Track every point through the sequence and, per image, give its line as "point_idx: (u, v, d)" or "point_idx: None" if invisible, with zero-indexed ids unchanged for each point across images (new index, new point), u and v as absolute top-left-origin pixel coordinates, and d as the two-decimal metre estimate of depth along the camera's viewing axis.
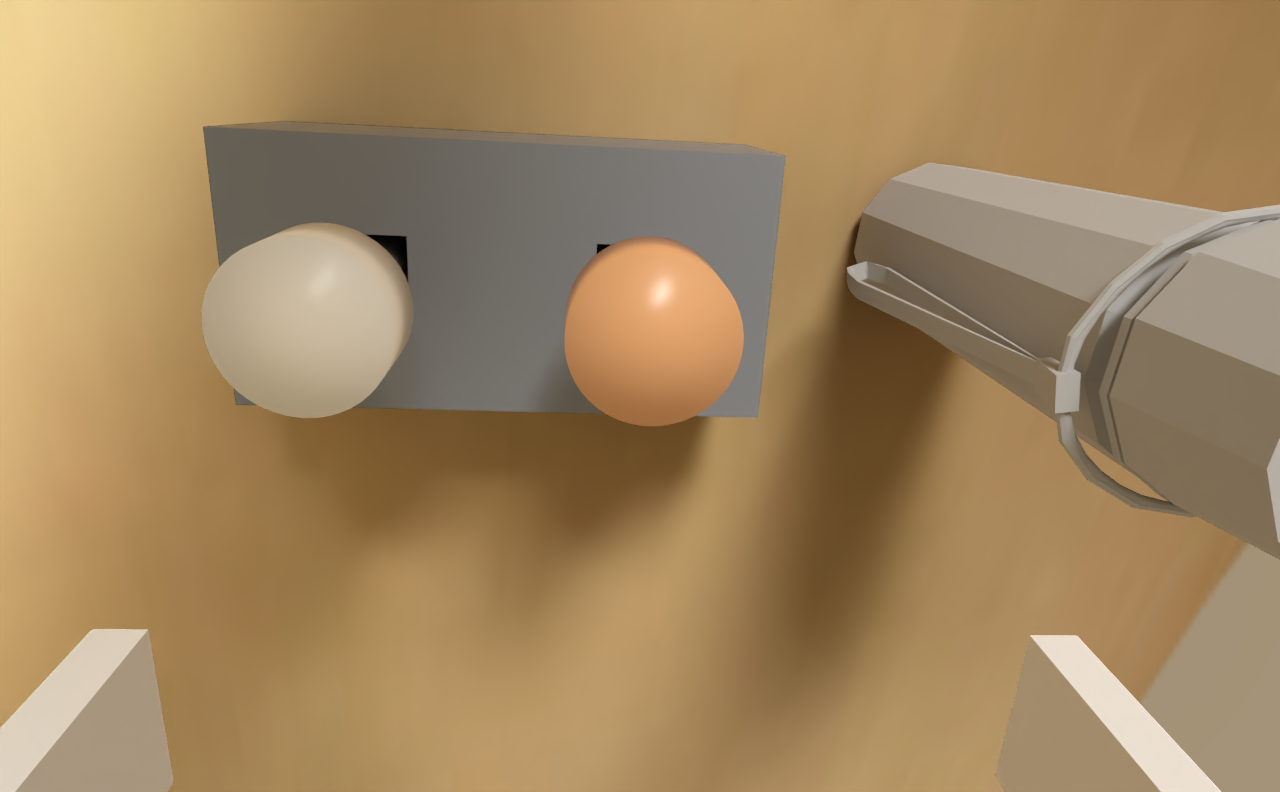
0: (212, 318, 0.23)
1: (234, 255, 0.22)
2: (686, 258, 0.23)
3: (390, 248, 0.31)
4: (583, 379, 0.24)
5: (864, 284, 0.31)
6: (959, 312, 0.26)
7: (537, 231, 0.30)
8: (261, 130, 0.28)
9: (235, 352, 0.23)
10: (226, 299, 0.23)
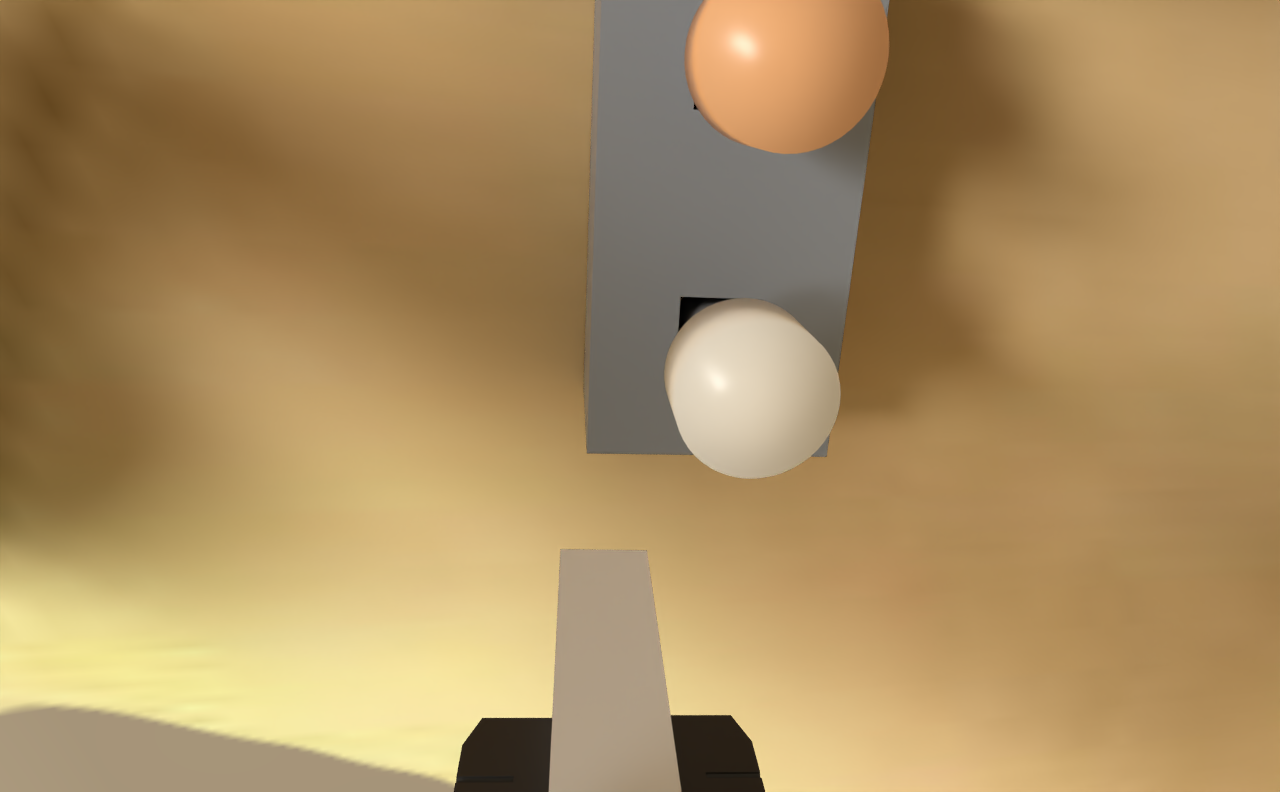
0: (742, 469, 0.26)
1: (688, 446, 0.26)
2: (706, 17, 0.22)
3: (692, 311, 0.33)
4: (827, 134, 0.23)
5: None
6: None
7: (679, 171, 0.30)
8: (588, 409, 0.33)
9: (773, 454, 0.26)
10: (726, 457, 0.26)
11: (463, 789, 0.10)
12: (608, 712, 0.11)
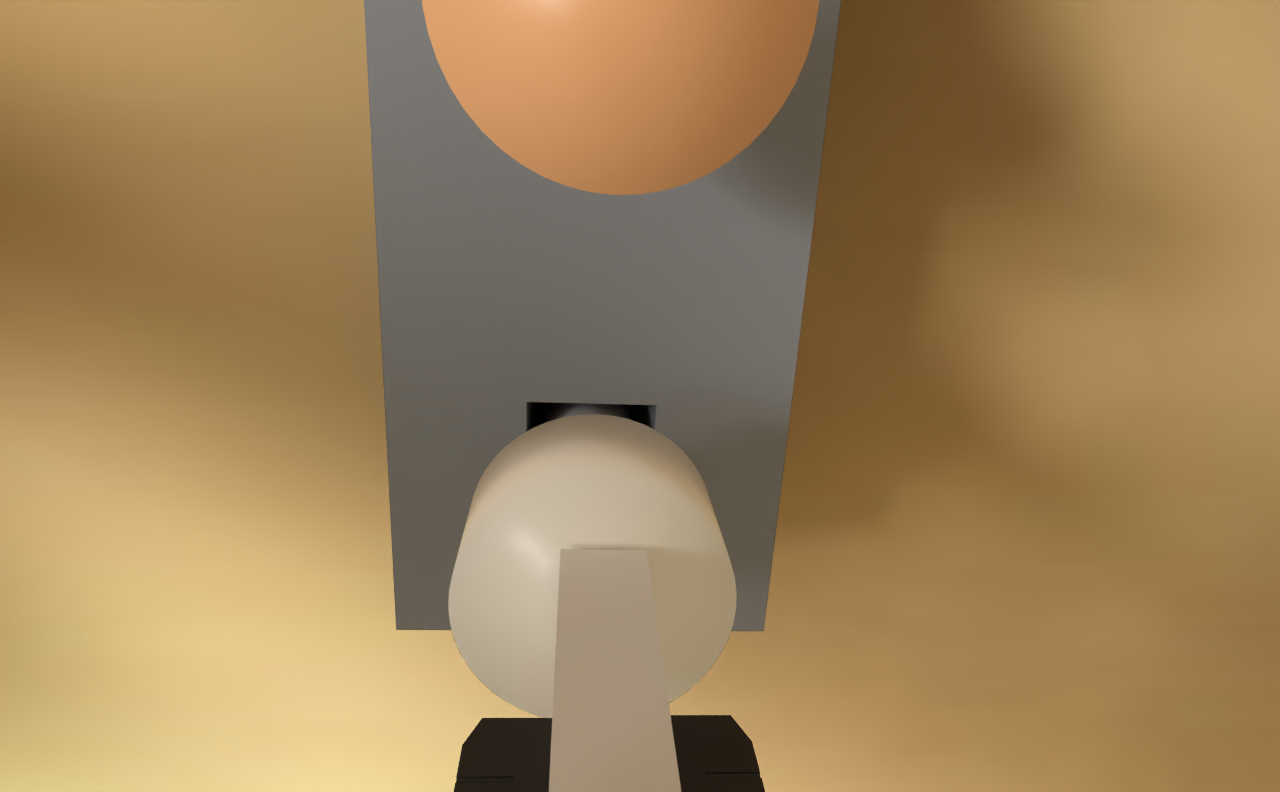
0: None
1: (479, 677, 0.15)
2: None
3: (555, 404, 0.23)
4: (700, 156, 0.12)
5: None
6: None
7: (512, 207, 0.19)
8: (394, 567, 0.22)
9: None
10: (545, 692, 0.16)
11: (463, 789, 0.10)
12: (608, 712, 0.11)
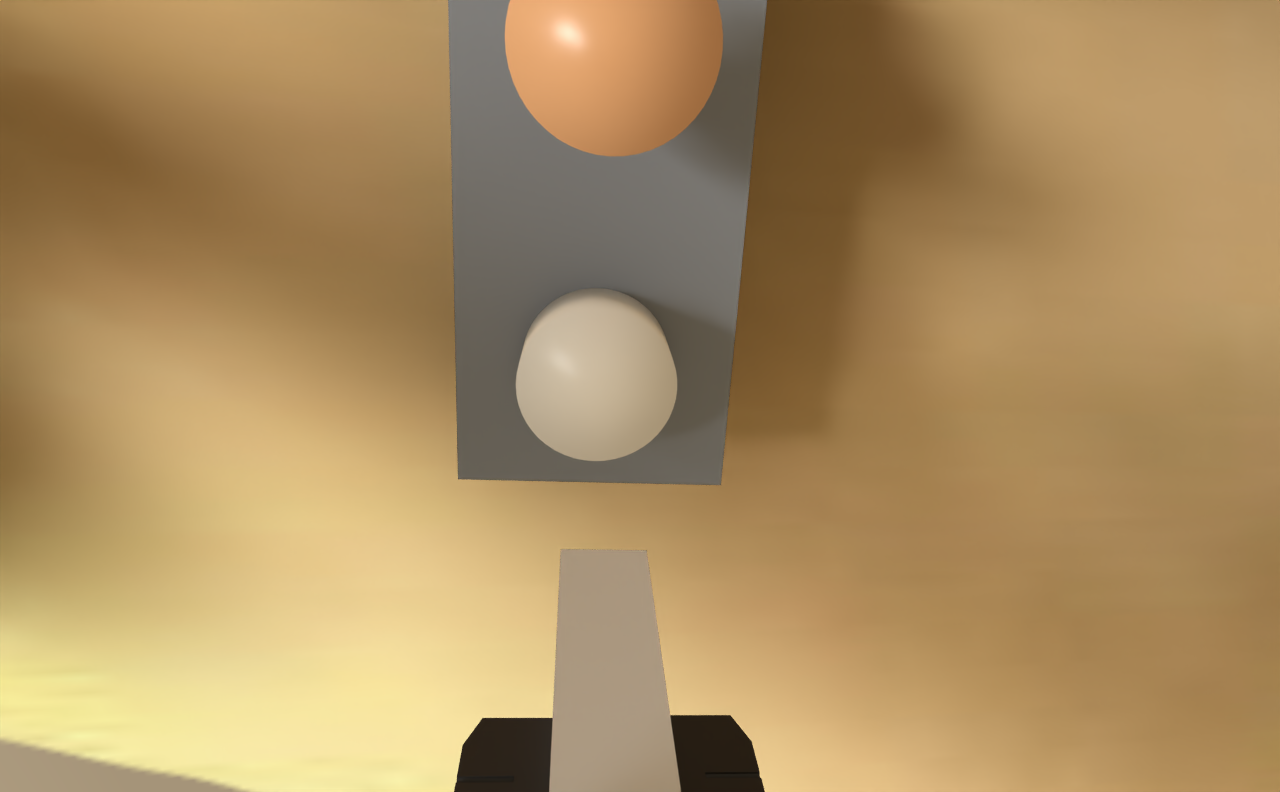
0: (585, 452, 0.27)
1: (531, 428, 0.27)
2: (510, 1, 0.19)
3: None
4: (658, 134, 0.20)
5: None
6: None
7: (543, 175, 0.28)
8: (457, 432, 0.31)
9: (615, 438, 0.27)
10: (569, 439, 0.27)
11: (464, 789, 0.10)
12: (608, 712, 0.11)
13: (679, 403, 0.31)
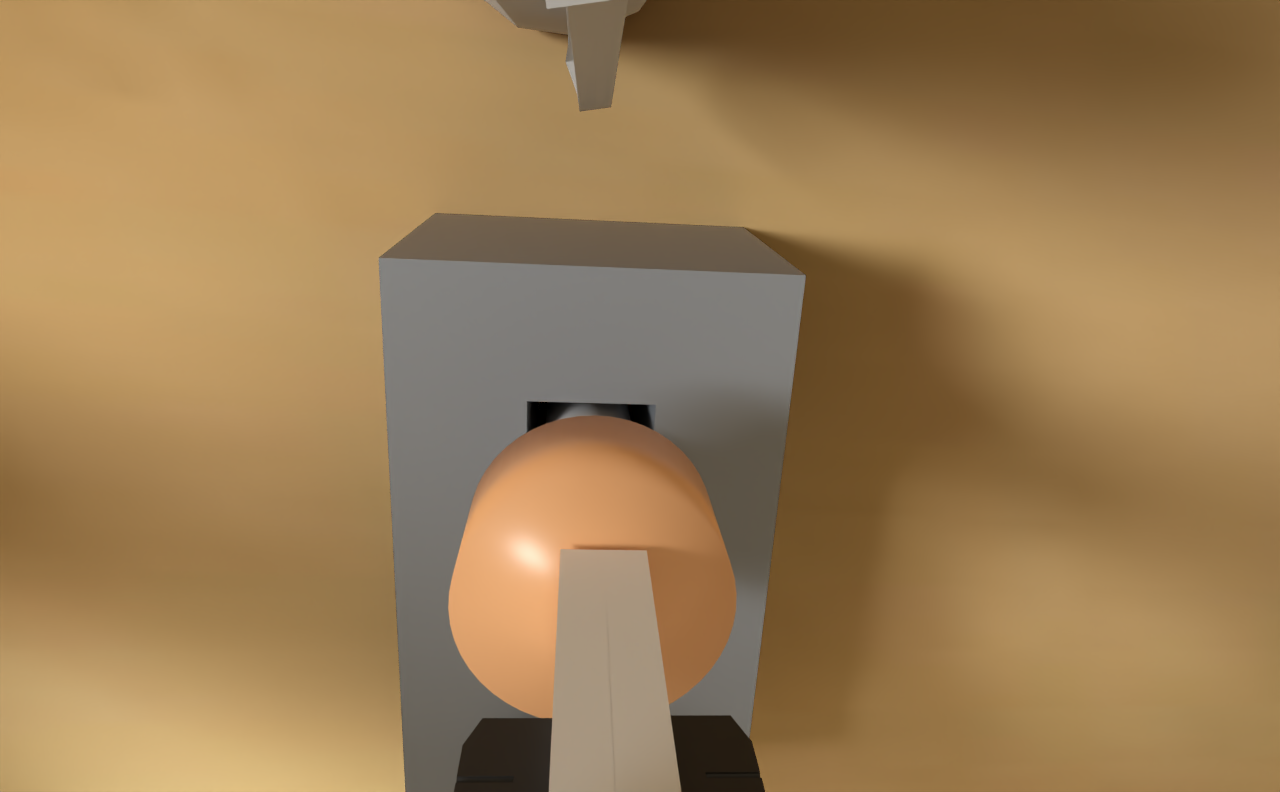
0: None
1: None
2: (455, 569, 0.15)
3: None
4: None
5: (579, 106, 0.18)
6: (566, 14, 0.13)
7: None
8: None
9: None
10: None
11: (463, 789, 0.10)
12: (608, 712, 0.11)
13: None
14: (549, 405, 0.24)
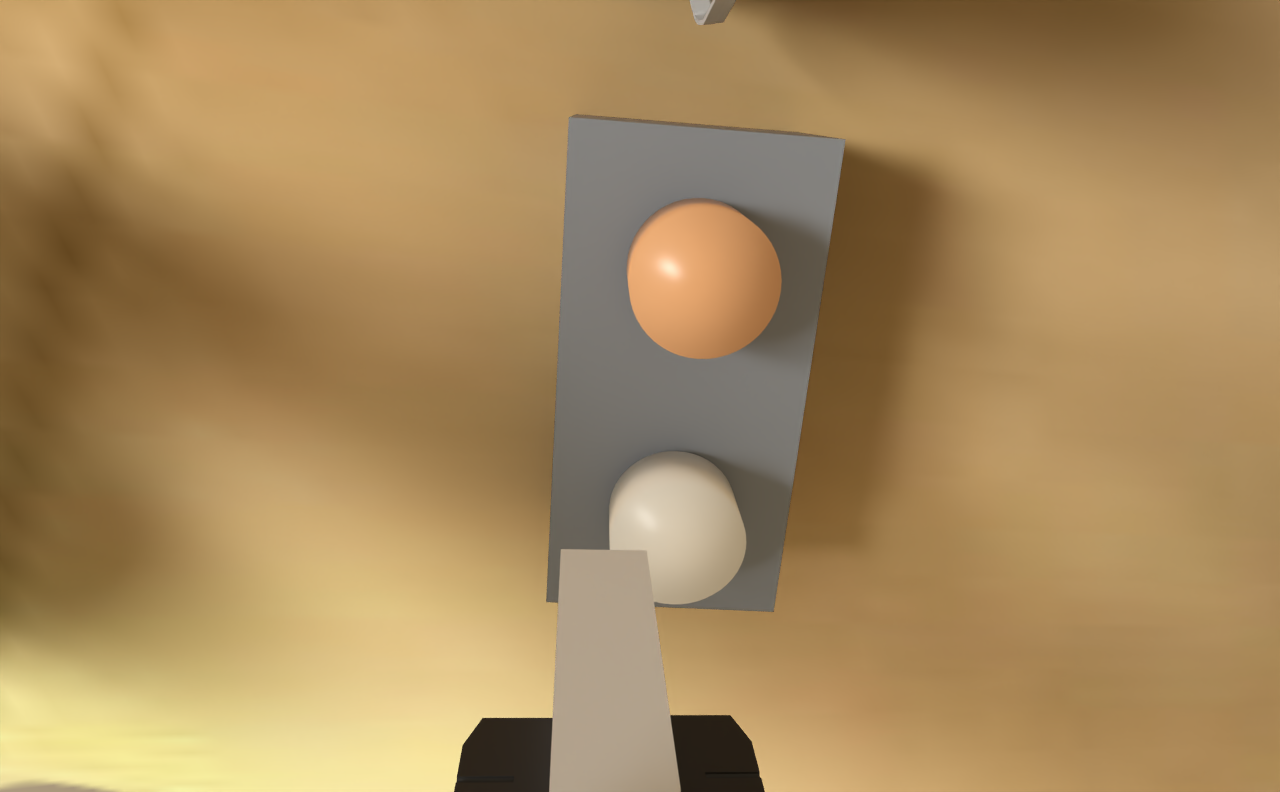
0: (665, 597, 0.32)
1: None
2: (634, 258, 0.28)
3: None
4: (732, 345, 0.29)
5: (705, 20, 0.28)
6: None
7: (635, 358, 0.32)
8: (548, 563, 0.35)
9: (691, 586, 0.32)
10: None
11: (464, 789, 0.10)
12: (608, 712, 0.11)
13: None
14: None
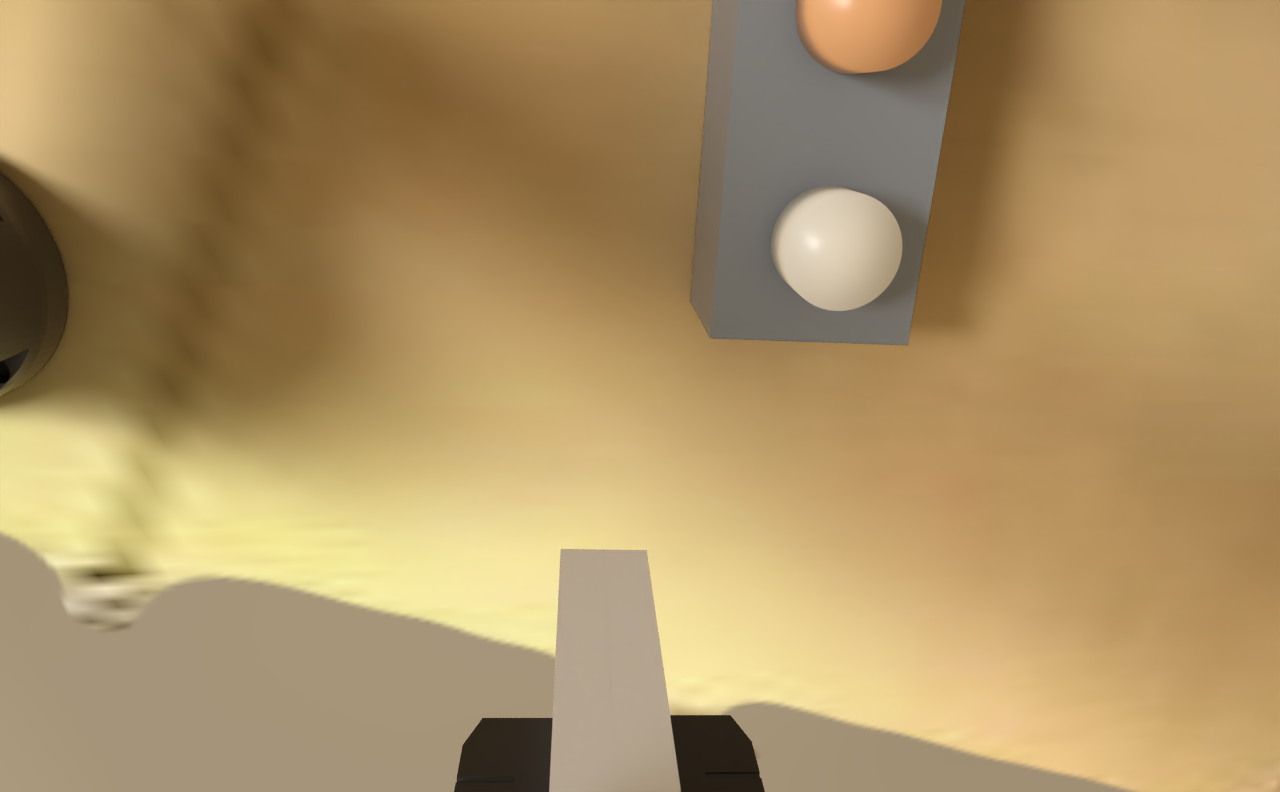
0: (830, 303, 0.37)
1: (793, 285, 0.37)
2: None
3: None
4: (899, 58, 0.34)
5: None
6: None
7: (797, 99, 0.37)
8: (714, 300, 0.40)
9: (853, 293, 0.37)
10: (819, 293, 0.37)
11: (463, 789, 0.10)
12: (608, 712, 0.11)
13: None
14: None
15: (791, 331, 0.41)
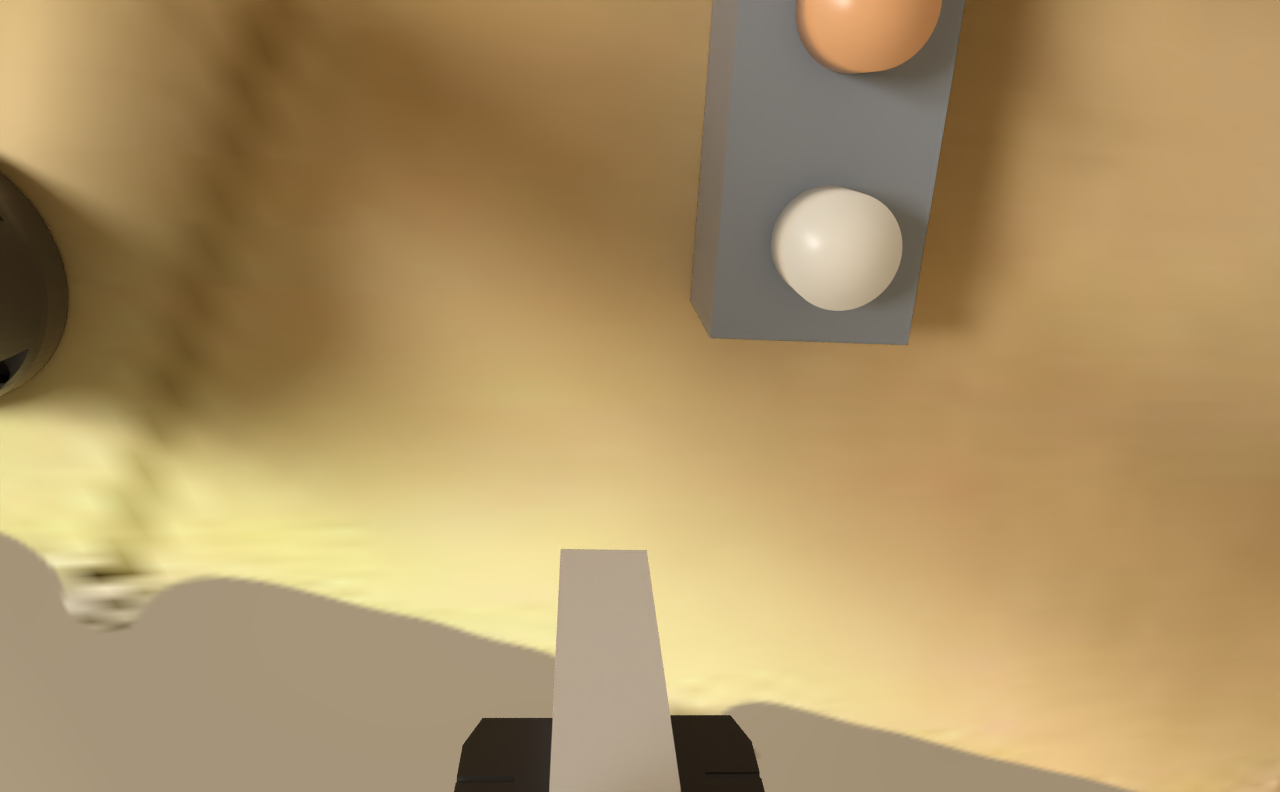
0: (830, 303, 0.37)
1: (793, 284, 0.37)
2: None
3: None
4: (899, 57, 0.34)
5: None
6: None
7: (797, 98, 0.37)
8: (714, 300, 0.40)
9: (853, 293, 0.37)
10: (819, 293, 0.37)
11: (463, 789, 0.10)
12: (608, 712, 0.11)
13: None
14: None
15: (791, 331, 0.41)
